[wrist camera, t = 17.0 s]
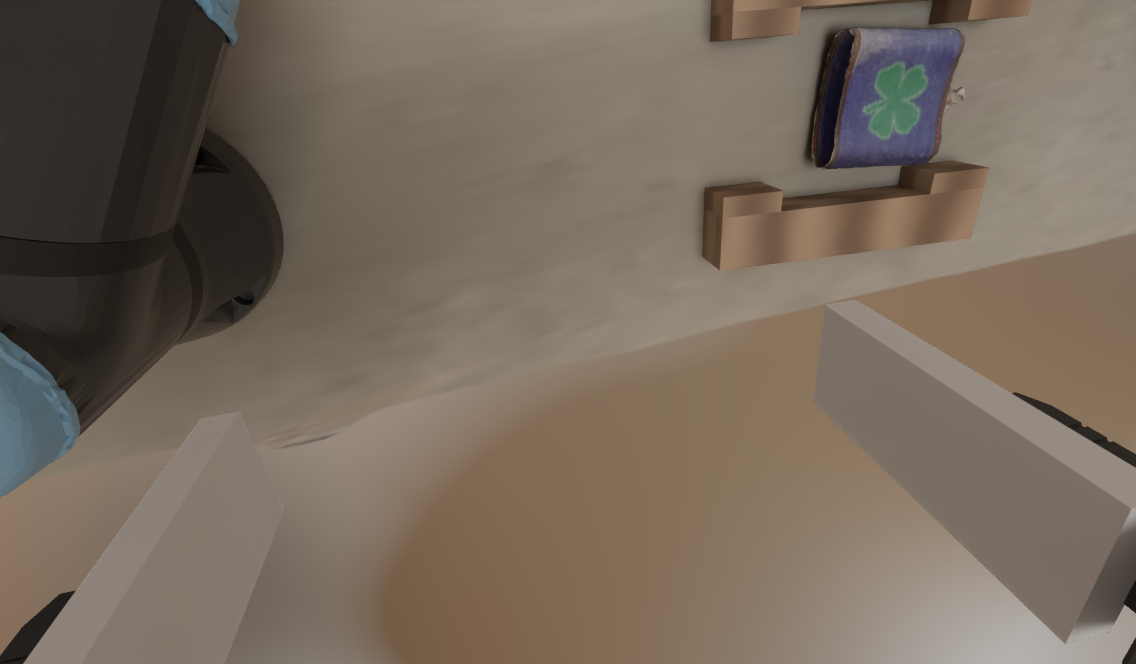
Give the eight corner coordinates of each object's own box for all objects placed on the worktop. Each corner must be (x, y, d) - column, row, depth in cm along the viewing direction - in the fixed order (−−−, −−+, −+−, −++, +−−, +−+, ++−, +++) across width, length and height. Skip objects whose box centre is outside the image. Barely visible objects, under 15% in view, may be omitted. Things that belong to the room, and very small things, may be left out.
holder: (702, 256, 45) (719, 270, 42) (713, -55, 35) (737, -67, 32) (937, 227, 47) (970, 238, 44) (1005, -73, 38) (1054, -85, 35)
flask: (856, 25, 36) (993, 26, 38) (827, 29, 38) (957, 30, 40) (829, 172, 40) (955, 166, 42) (805, 166, 42) (924, 161, 44)
